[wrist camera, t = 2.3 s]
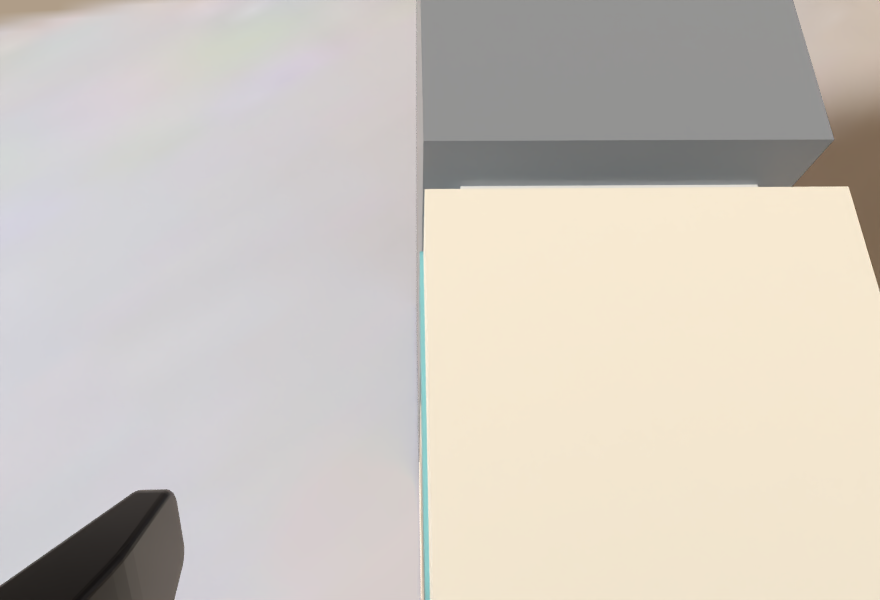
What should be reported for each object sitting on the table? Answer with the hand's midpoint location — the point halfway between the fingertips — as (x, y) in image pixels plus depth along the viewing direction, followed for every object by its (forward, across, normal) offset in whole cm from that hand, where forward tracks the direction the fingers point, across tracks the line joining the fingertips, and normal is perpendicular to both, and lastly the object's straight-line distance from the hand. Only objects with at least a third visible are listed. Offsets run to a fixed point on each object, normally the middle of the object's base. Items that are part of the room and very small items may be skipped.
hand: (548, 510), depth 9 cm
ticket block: (+8, 0, +3) cm, 9 cm away
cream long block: (+5, 0, +6) cm, 8 cm away
